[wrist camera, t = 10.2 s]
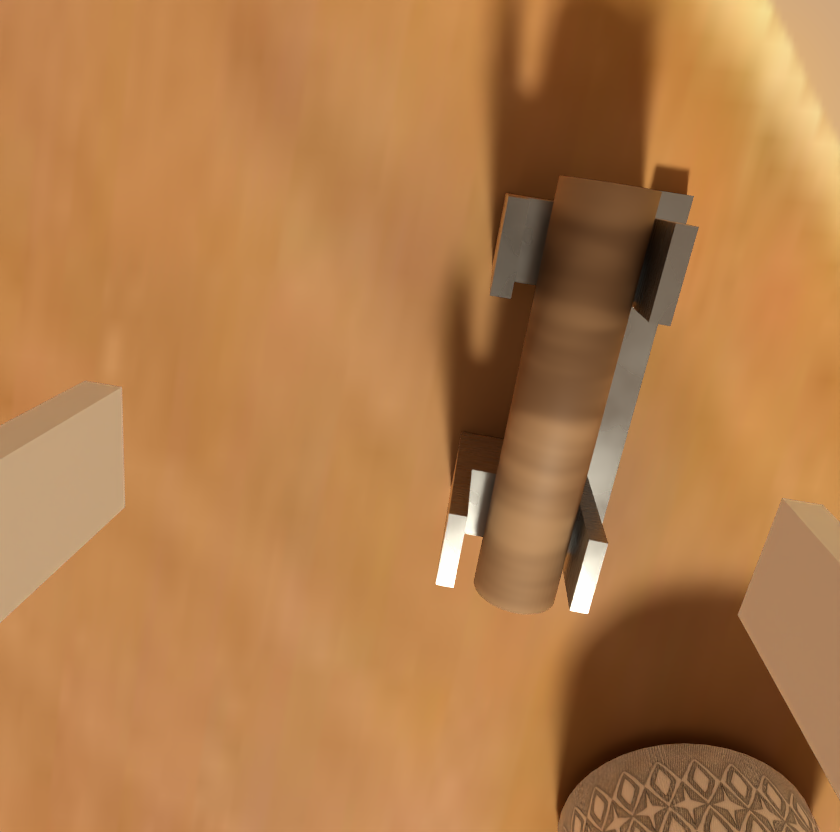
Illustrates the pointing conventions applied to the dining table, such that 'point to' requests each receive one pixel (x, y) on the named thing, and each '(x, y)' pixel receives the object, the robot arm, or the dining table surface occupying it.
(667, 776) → the planter
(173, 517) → the dining table surface
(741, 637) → the dining table surface
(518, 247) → the bracket
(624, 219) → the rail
